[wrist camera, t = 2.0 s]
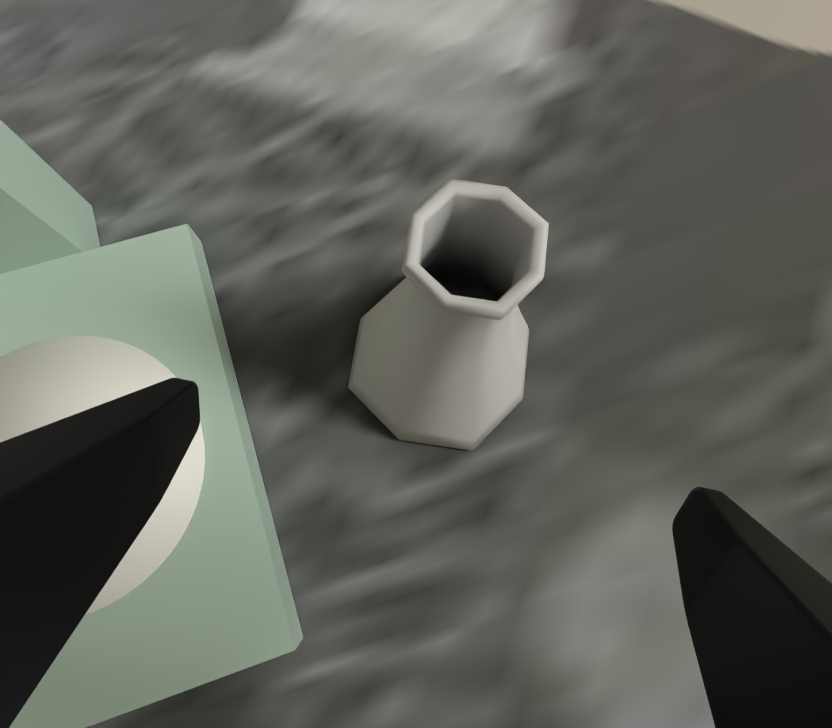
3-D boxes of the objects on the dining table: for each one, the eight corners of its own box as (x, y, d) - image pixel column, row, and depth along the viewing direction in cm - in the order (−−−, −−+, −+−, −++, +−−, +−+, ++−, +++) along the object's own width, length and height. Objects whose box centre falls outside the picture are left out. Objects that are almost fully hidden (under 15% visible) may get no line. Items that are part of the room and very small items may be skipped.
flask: (317, 398, 20) (243, 311, 11) (401, 249, 22) (404, 56, 12) (483, 483, 20) (566, 473, 10) (556, 323, 21) (688, 182, 12)
